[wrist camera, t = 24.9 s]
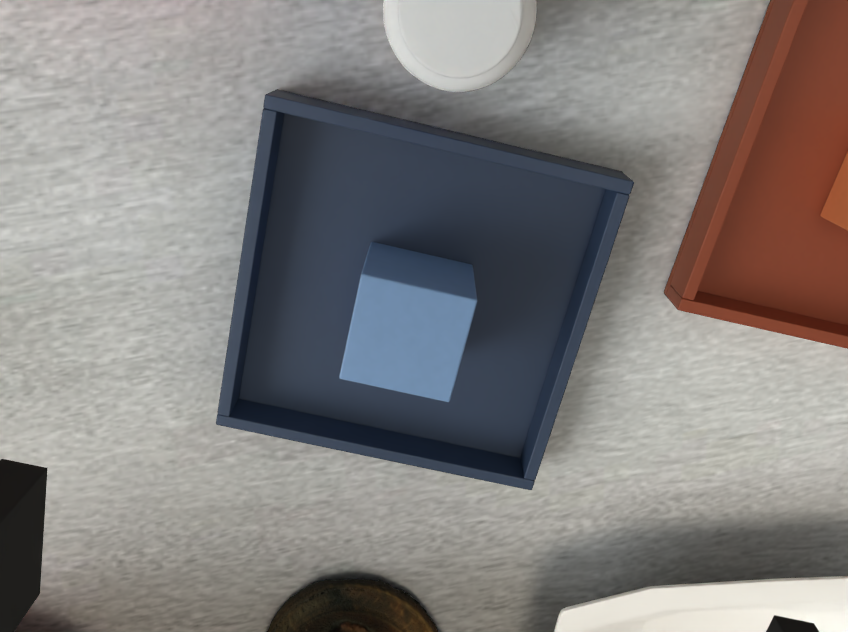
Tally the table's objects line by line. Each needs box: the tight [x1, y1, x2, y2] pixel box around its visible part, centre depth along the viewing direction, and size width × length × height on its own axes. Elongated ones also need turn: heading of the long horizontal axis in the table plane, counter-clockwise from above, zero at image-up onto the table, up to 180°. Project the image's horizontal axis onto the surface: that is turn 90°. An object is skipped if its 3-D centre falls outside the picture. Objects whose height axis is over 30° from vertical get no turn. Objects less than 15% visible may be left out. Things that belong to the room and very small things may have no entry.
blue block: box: [339, 242, 477, 402], centre depth 35 cm, size 5×5×5 cm
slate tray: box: [216, 89, 634, 490], centre depth 37 cm, size 16×16×2 cm
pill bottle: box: [383, 0, 537, 92], centre depth 29 cm, size 5×5×10 cm
